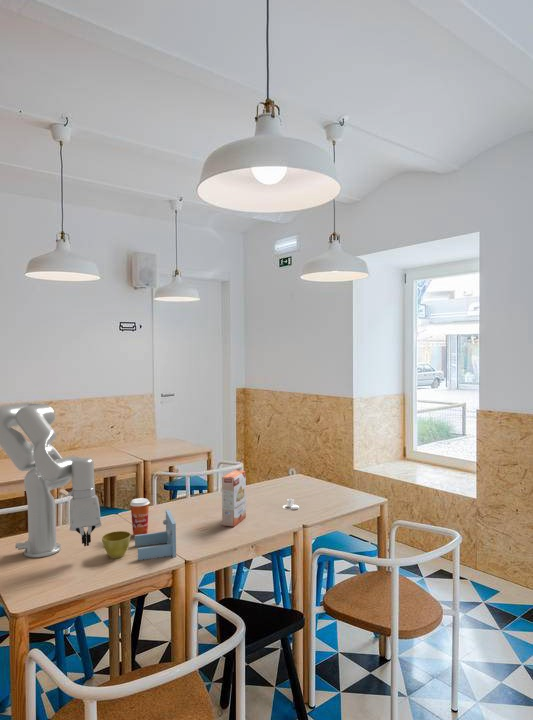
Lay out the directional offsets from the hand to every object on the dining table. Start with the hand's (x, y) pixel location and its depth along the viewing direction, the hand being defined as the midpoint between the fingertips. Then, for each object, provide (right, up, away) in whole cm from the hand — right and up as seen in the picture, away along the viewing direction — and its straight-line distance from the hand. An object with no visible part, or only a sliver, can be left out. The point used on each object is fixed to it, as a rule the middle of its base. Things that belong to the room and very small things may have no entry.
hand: (86, 544), depth 182 cm
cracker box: (+50, -5, +40) cm, 64 cm away
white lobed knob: (+74, -4, +57) cm, 93 cm away
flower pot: (+10, -6, +4) cm, 12 cm away
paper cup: (+13, -5, +25) cm, 29 cm away
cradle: (+22, -5, +8) cm, 24 cm away
